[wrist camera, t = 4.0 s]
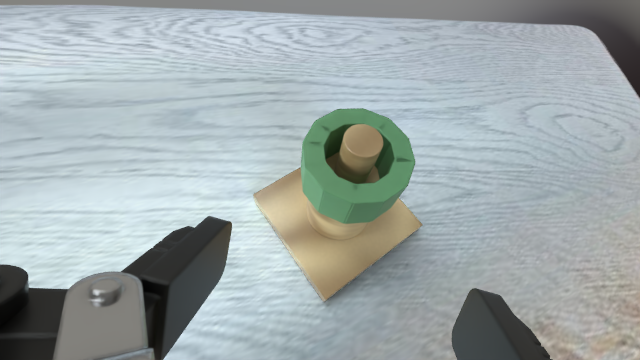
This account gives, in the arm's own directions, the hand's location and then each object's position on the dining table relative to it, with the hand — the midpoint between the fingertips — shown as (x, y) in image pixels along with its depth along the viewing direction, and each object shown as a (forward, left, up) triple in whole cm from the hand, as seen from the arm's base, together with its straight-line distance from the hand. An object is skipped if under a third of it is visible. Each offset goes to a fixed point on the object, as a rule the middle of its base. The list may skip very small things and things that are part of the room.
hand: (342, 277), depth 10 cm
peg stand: (-5, +6, -15) cm, 17 cm away
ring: (-5, +6, -8) cm, 11 cm away
